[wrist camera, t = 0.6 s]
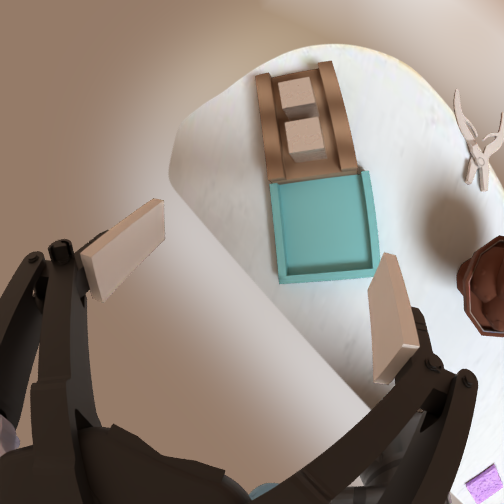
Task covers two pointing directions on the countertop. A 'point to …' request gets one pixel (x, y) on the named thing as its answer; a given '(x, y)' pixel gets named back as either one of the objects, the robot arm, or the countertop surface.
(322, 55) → the countertop surface
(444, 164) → the countertop surface
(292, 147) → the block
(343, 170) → the groove board
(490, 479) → the sponges
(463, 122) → the pliers
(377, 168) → the countertop surface
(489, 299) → the ice cream bowl
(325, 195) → the tray
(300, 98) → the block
